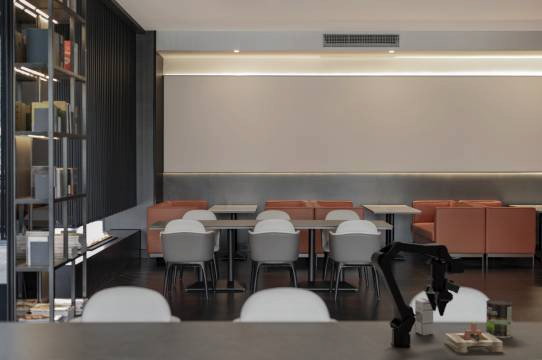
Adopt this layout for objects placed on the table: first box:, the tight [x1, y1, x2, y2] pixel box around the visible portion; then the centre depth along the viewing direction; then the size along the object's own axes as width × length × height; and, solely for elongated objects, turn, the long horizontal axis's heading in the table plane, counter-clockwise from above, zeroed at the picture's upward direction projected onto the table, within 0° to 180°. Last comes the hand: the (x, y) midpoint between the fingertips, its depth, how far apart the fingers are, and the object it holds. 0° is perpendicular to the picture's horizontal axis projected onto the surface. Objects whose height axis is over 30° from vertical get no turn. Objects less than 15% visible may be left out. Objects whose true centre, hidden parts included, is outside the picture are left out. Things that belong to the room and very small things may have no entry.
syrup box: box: [414, 298, 434, 336], centre depth 279 cm, size 6×6×14 cm
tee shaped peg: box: [463, 321, 483, 340], centre depth 258 cm, size 6×3×7 cm, turn 94°
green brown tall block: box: [485, 299, 513, 339], centre depth 277 cm, size 10×10×14 cm
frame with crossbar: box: [444, 332, 504, 354], centre depth 258 cm, size 18×14×6 cm
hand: (437, 313), depth 264 cm, fingers open, 9 cm apart
